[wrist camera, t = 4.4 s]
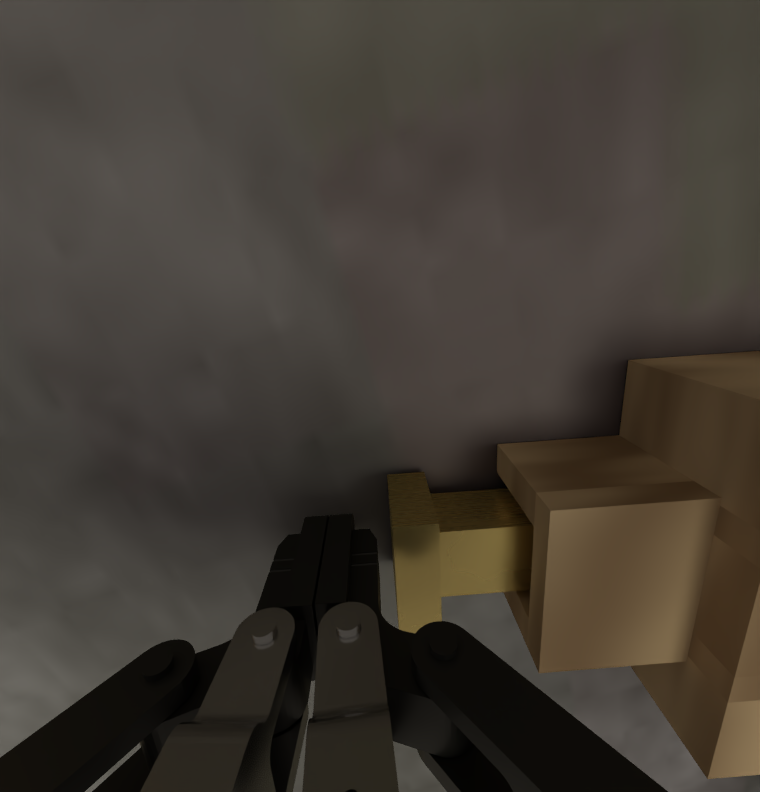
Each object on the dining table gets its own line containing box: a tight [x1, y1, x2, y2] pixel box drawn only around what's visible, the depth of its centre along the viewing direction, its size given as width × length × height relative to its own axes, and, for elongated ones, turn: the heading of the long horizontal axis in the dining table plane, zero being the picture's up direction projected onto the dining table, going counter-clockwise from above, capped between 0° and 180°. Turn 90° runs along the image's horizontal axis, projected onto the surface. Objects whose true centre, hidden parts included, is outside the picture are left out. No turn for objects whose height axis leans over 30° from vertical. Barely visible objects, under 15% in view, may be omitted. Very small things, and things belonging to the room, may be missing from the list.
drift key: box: [387, 472, 534, 633], centre depth 12 cm, size 8×4×3 cm, turn 94°
